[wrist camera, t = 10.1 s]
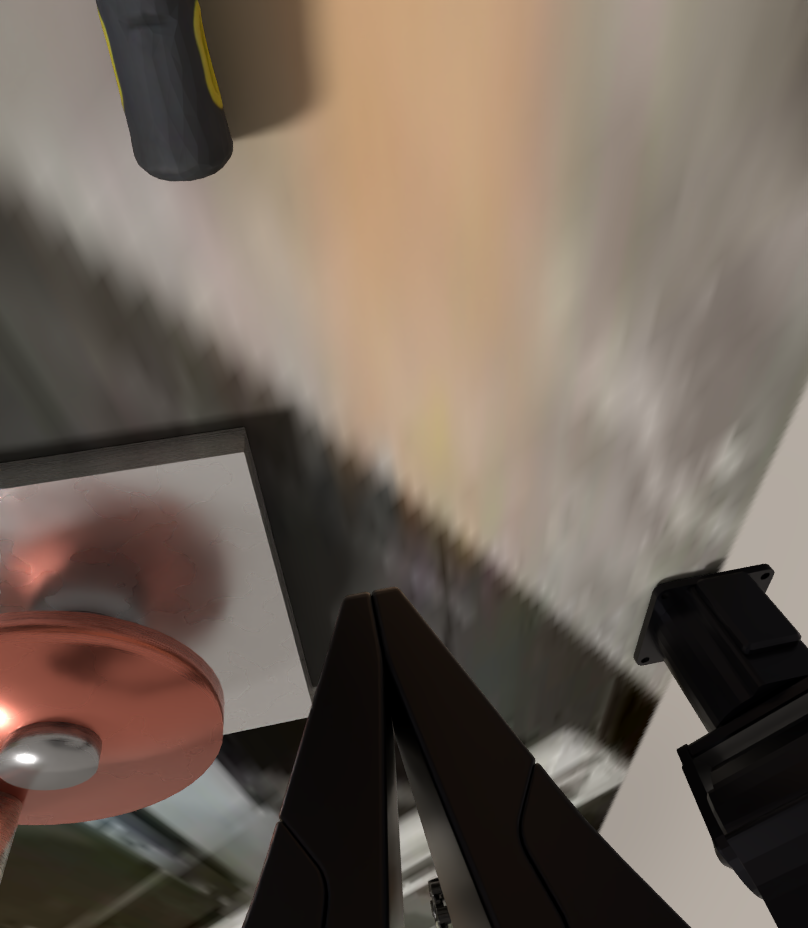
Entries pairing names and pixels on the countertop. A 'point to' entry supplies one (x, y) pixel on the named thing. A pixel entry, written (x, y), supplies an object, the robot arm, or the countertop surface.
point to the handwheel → (98, 718)
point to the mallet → (167, 87)
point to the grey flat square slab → (162, 558)
